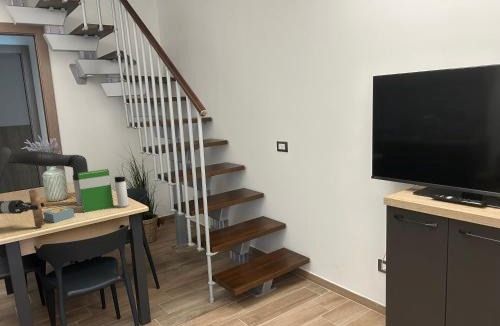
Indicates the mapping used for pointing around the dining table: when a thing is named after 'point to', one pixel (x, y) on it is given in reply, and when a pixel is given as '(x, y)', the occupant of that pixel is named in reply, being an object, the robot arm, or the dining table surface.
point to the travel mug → (121, 192)
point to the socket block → (58, 214)
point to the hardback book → (95, 190)
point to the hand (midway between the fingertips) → (40, 206)
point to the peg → (37, 213)
